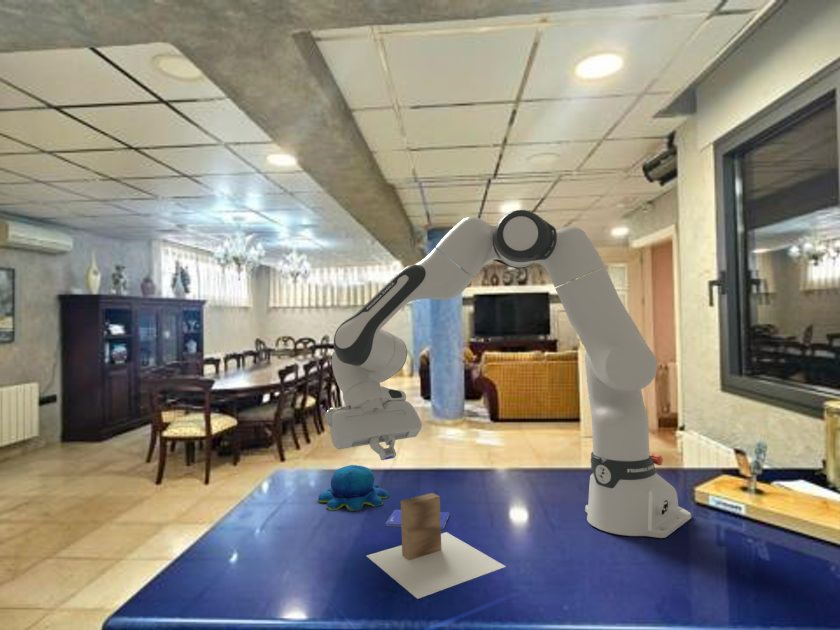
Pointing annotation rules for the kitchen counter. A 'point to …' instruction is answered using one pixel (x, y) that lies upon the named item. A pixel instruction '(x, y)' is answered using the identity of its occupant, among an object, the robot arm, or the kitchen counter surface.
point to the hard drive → (396, 519)
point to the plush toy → (353, 489)
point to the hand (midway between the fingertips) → (389, 457)
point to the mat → (435, 566)
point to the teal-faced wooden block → (420, 526)
